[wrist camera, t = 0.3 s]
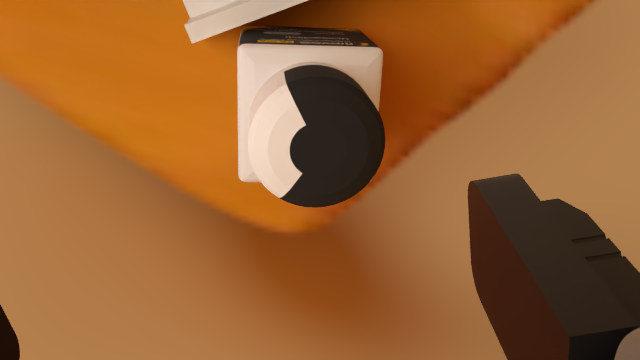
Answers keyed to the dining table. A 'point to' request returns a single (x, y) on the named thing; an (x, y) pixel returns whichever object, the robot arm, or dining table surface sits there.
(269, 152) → the medicine bottle
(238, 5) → the shallow white tray
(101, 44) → the dining table surface
